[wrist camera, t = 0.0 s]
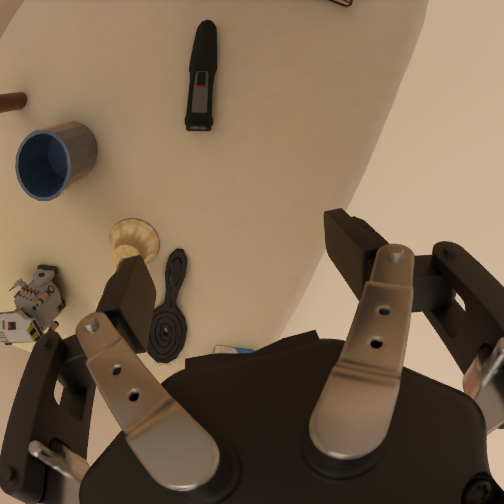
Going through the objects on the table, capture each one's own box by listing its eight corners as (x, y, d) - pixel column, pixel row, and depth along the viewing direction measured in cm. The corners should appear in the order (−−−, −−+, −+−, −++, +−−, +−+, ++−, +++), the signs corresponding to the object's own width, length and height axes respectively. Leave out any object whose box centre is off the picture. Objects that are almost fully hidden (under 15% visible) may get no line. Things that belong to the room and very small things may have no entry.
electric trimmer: (222, 26, 29) (223, 20, 26) (212, 131, 36) (212, 133, 33) (194, 25, 28) (193, 19, 25) (184, 130, 35) (182, 132, 33)
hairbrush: (205, 262, 43) (181, 369, 53) (205, 251, 46) (181, 356, 56) (151, 251, 41) (140, 362, 50) (155, 241, 44) (142, 349, 54)
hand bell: (124, 208, 39) (88, 264, 26) (169, 237, 43) (154, 303, 29) (102, 247, 42) (66, 312, 28) (143, 273, 45) (124, 344, 32)
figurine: (18, 260, 40) (-21, 309, 27) (65, 266, 42) (29, 323, 30) (28, 298, 44) (-2, 349, 31) (73, 306, 47) (47, 364, 34)
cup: (41, 136, 31) (7, 148, 23) (88, 112, 31) (59, 117, 24) (57, 188, 36) (28, 210, 28) (104, 169, 36) (80, 187, 28)
